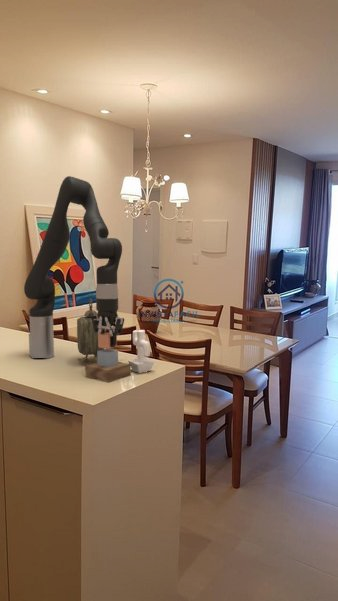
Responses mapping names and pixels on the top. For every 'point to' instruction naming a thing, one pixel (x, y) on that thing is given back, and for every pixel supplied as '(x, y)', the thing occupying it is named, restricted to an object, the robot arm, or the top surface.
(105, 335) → the terracotta block
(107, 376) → the plinth
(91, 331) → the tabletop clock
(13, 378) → the top surface
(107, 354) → the blue block
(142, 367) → the figurine
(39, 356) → the robot arm
